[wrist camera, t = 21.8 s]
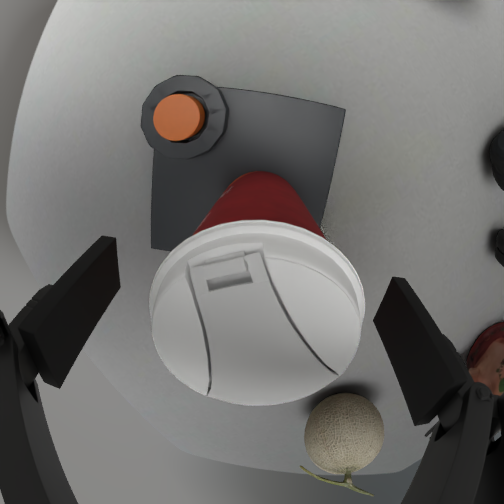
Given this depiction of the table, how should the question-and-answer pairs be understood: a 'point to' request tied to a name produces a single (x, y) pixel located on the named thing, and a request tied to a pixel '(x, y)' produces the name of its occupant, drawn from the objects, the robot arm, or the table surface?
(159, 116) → the button
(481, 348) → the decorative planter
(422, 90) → the table surface
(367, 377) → the table surface
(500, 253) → the headphones
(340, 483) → the fruit
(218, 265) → the coffee cup
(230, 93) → the scale
